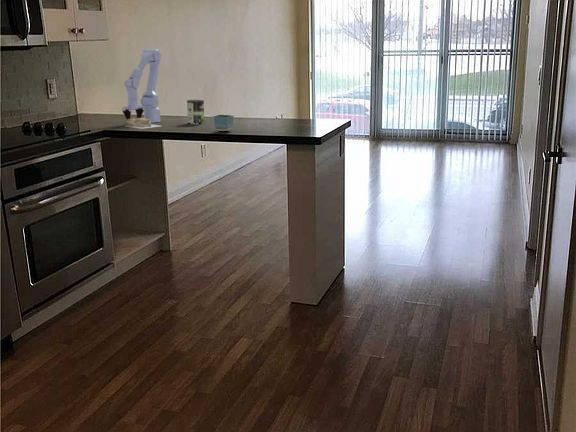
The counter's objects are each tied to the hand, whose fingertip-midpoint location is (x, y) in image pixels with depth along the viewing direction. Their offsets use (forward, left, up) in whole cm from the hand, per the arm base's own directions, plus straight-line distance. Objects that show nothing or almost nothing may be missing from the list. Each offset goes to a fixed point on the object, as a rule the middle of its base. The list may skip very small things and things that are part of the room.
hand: (133, 121), depth 361 cm
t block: (0, +8, -2) cm, 8 cm away
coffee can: (-30, +22, -2) cm, 37 cm away
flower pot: (-16, +59, -2) cm, 61 cm away
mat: (0, +9, -2) cm, 9 cm away
